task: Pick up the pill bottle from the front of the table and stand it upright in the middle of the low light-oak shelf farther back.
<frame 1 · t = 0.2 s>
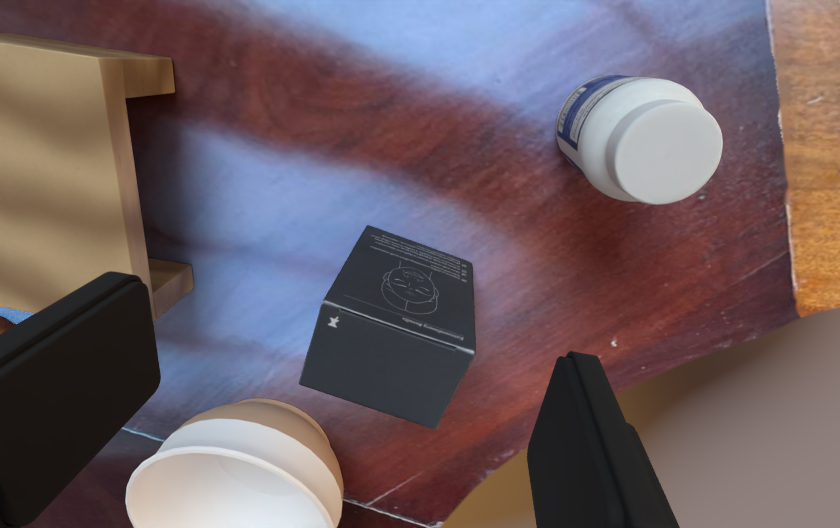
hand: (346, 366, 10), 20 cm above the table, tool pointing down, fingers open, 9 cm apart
bowl: (273, 443, 40), on the table
shelf: (114, 174, 31), on the table
pill bottle: (600, 123, 26), on the table
box: (408, 275, 32), on the table
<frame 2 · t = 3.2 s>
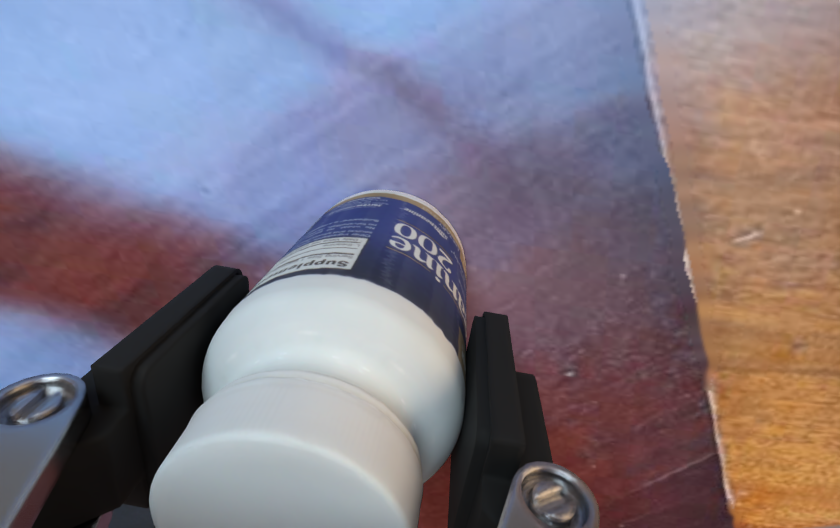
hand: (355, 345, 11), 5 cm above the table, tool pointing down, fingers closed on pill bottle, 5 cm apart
pill bottle: (389, 259, 15), on the table, touching gripper
box: (152, 453, 21), on the table
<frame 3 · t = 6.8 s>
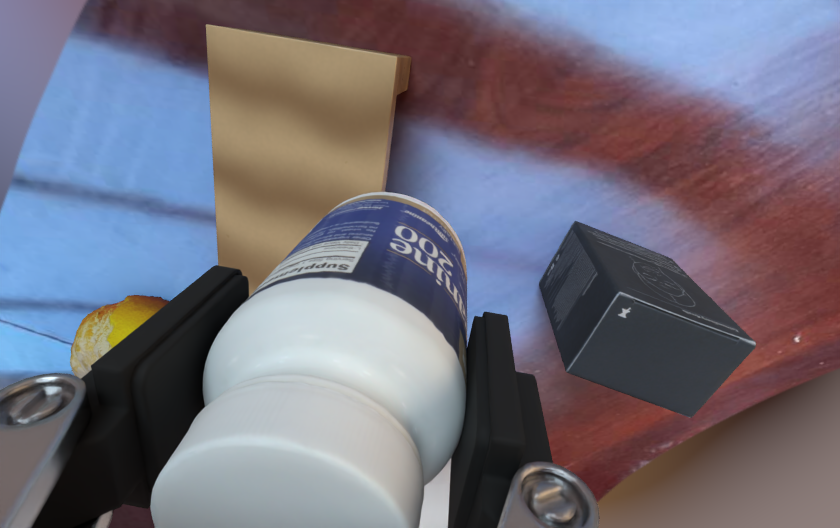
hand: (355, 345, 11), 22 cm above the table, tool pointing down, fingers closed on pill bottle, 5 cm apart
bowl: (428, 432, 41), on the table
shelf: (326, 168, 31), on the table
pill bottle: (389, 261, 15), point 17 cm above the table, touching gripper
box: (602, 270, 33), on the table
fruit: (162, 338, 40), on the table
when the fingers open (11 cm above the table, at t = 10.3 s): pill bottle stays where it is, resting on shelf.
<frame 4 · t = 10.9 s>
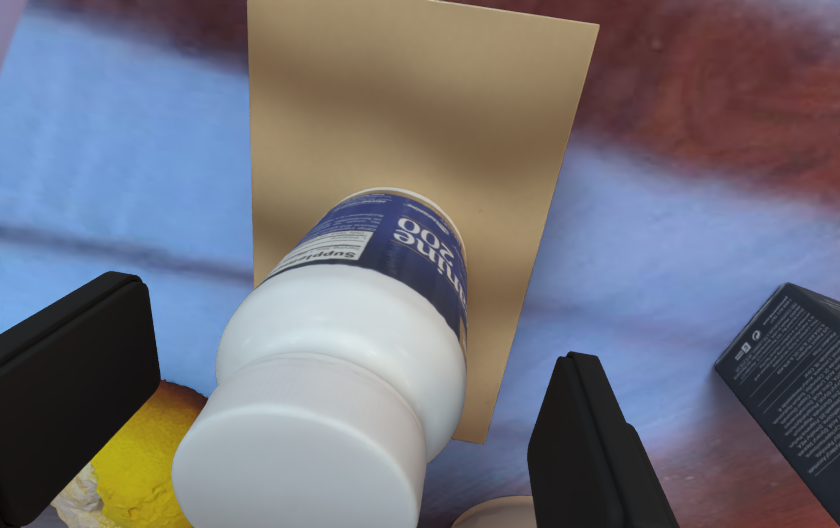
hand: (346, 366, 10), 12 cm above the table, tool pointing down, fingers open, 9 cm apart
shelf: (409, 206, 21), on the table
pill bottle: (392, 255, 16), point 6 cm above the table, touching shelf
box: (811, 348, 22), on the table
fruit: (167, 429, 29), on the table
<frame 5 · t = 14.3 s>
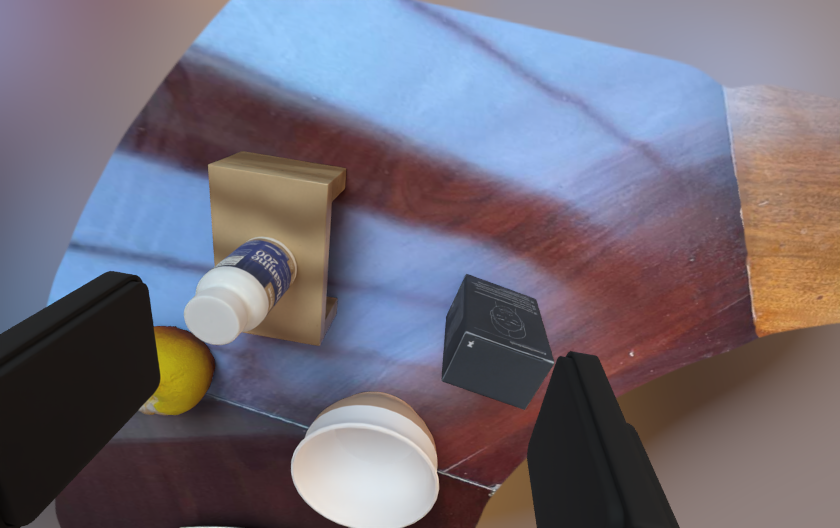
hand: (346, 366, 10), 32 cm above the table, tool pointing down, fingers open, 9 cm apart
bowl: (378, 425, 54), on the table
shelf: (292, 238, 45), on the table
pill bottle: (269, 262, 40), point 6 cm above the table, touching shelf
box: (490, 306, 46), on the table
fruit: (176, 356, 53), on the table
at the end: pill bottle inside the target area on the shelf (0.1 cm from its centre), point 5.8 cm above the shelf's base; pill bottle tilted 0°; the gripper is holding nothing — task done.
